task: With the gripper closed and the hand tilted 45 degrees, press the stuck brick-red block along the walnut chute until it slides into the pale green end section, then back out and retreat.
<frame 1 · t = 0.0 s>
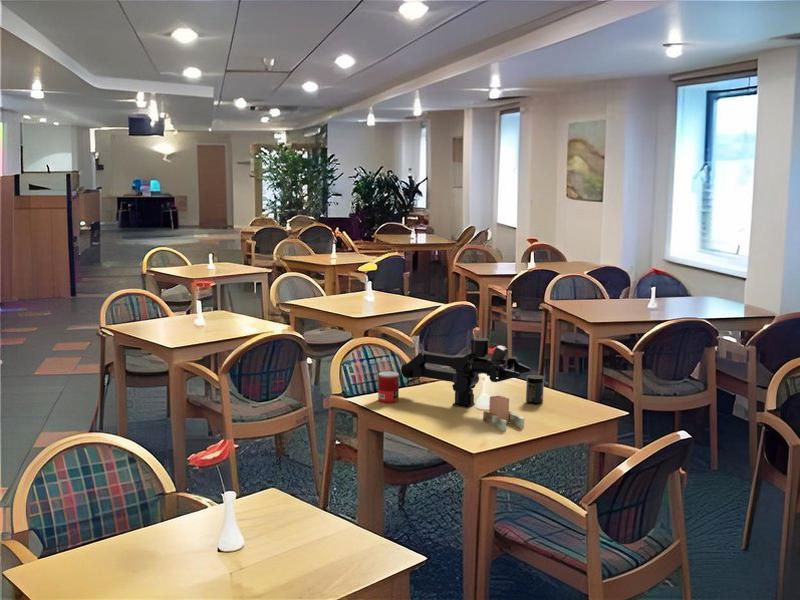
hand: (525, 372, 309), 17 cm above the table, tool horizontal, fingers open, 9 cm apart
jammed block: (499, 409, 303), point 5 cm above the table, slide at 0.0 cm
canned food: (388, 401, 330), on the table
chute: (503, 424, 301), on the table
supplement container: (534, 403, 330), on the table
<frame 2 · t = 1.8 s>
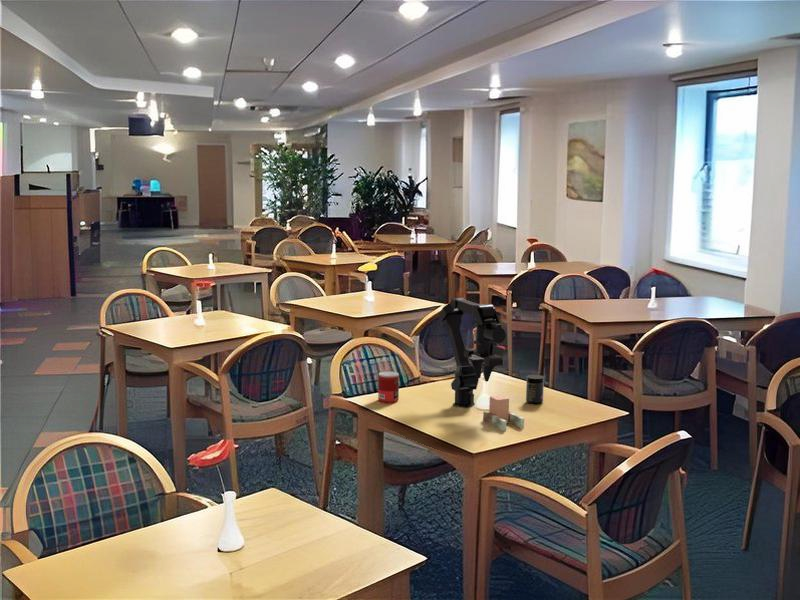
hand: (482, 379, 312), 13 cm above the table, tool pointing down, fingers open, 5 cm apart
nothing on the table moved.
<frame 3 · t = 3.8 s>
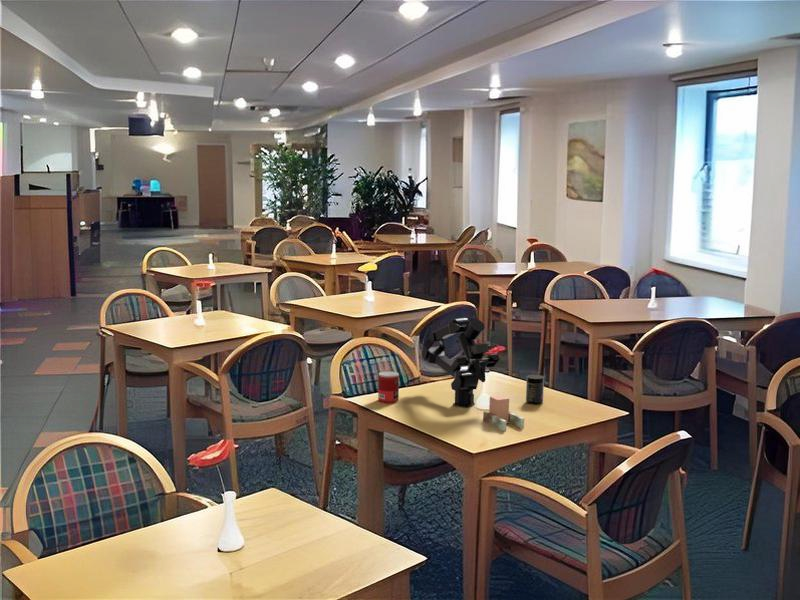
hand: (484, 381, 311), 12 cm above the table, tool tilted 45°, fingers closed
nothing on the table moved.
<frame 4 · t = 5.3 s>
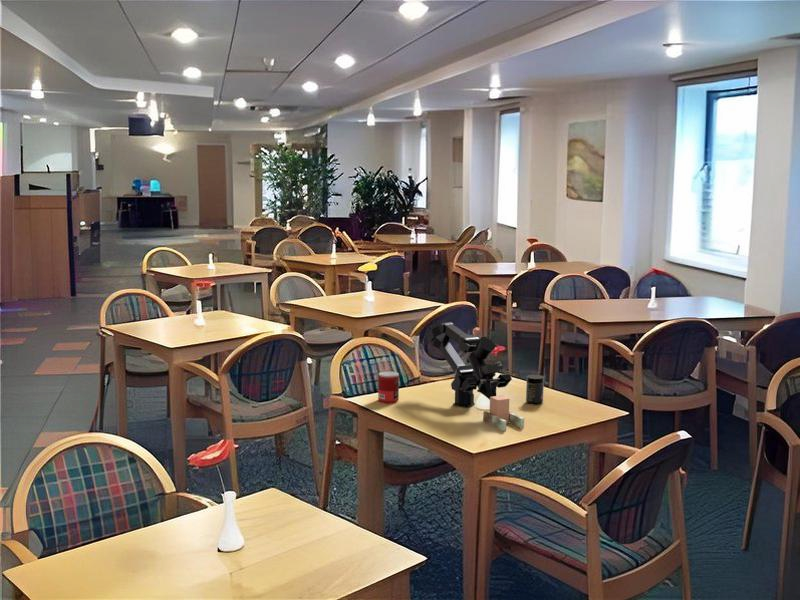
hand: (495, 402, 305), 7 cm above the table, tool tilted 45°, fingers closed, pressing on jammed block
jammed block: (499, 409, 303), point 5 cm above the table, slide at 0.2 cm, touching gripper
everything else where it was.
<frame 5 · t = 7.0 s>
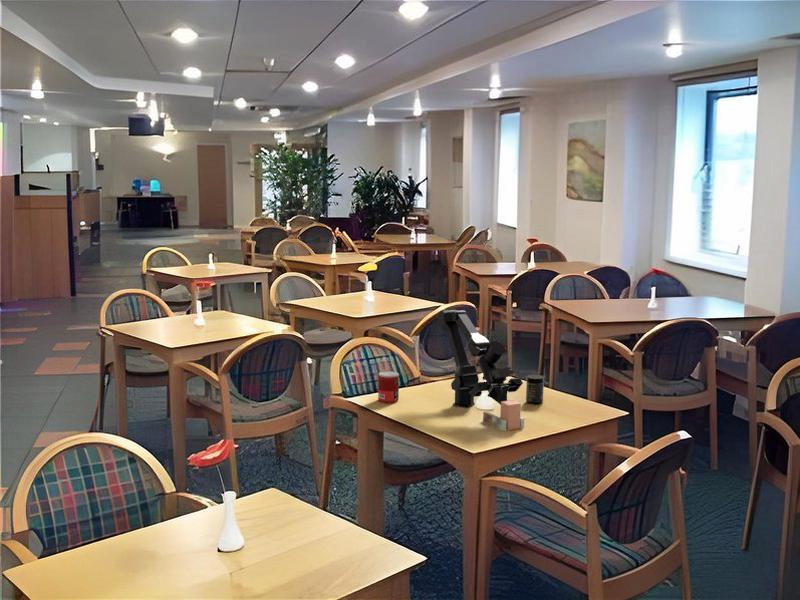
hand: (506, 407, 299), 7 cm above the table, tool tilted 45°, fingers closed, pressing on jammed block
jammed block: (510, 414, 297), point 5 cm above the table, slide at 7.2 cm, touching gripper
everything else where it was.
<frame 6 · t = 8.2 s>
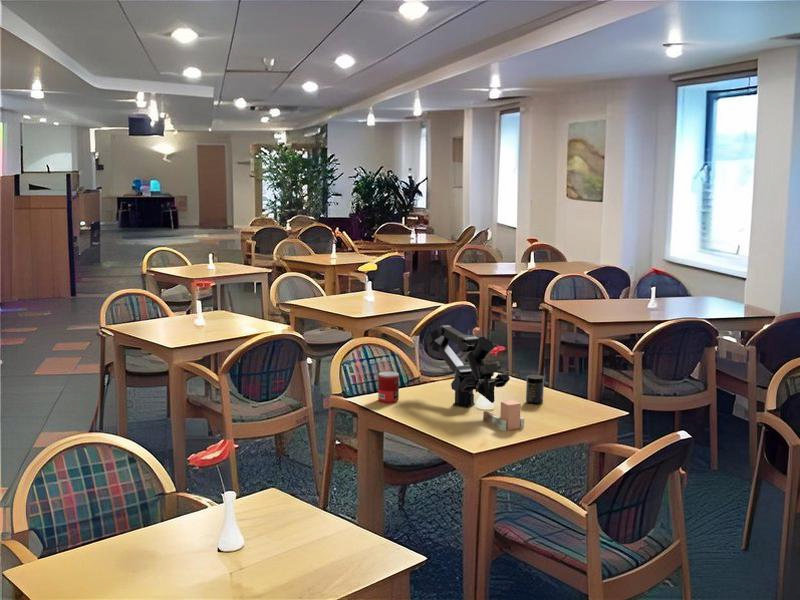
hand: (493, 402, 306), 6 cm above the table, tool tilted 45°, fingers closed
jammed block: (510, 414, 297), point 5 cm above the table, slide at 7.2 cm
everything else where it was.
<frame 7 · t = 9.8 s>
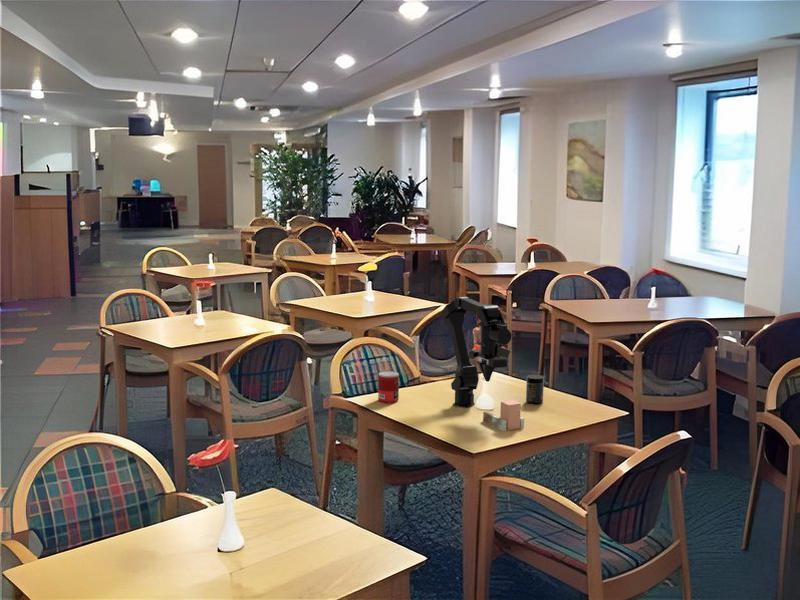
hand: (487, 381, 310), 13 cm above the table, tool pointing down, fingers closed
nothing on the table moved.
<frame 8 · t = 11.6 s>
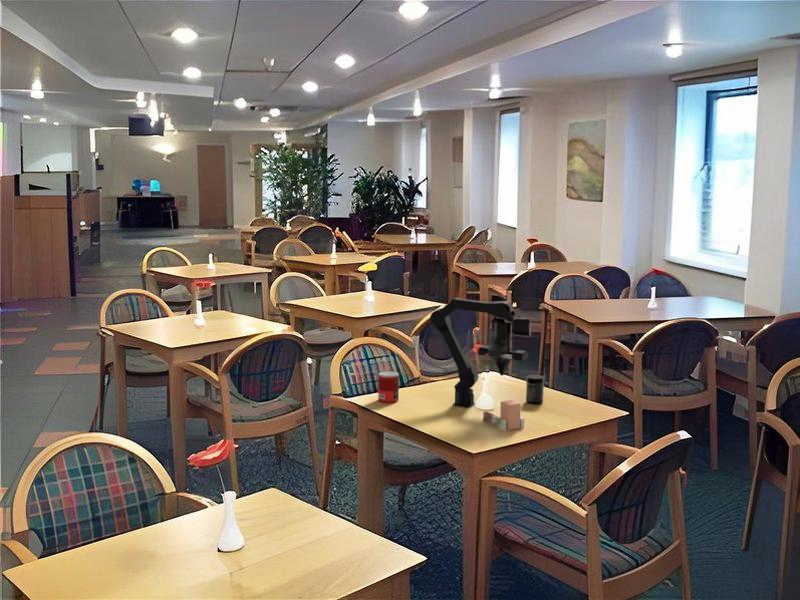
hand: (501, 375, 319), 13 cm above the table, tool pointing down, fingers closed
nothing on the table moved.
at the end: jammed block slide at 7.2 cm; the gripper is holding nothing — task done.
